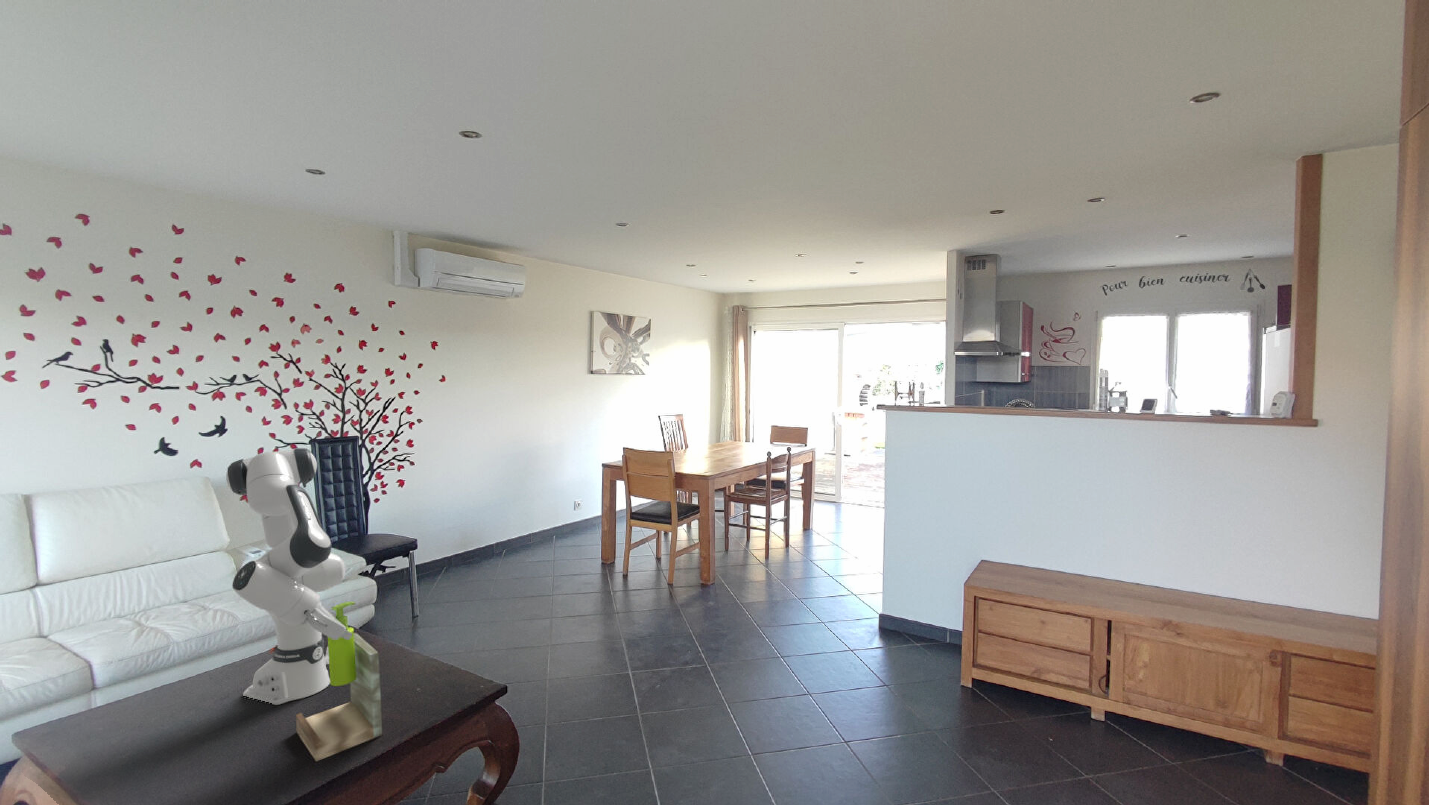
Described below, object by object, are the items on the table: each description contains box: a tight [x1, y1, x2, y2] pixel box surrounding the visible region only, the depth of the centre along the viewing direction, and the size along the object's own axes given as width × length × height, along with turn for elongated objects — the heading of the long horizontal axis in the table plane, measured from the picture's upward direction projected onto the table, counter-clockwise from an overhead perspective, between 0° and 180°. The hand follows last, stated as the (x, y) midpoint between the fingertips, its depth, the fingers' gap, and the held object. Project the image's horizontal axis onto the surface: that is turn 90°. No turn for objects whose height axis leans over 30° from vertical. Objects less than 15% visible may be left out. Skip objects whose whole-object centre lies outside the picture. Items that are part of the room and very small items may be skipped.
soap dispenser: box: [327, 601, 356, 687], centre depth 164 cm, size 6×7×20 cm
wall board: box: [295, 632, 383, 762], centre depth 163 cm, size 15×18×22 cm
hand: (345, 632), depth 164 cm, fingers closed on soap dispenser, 6 cm apart
